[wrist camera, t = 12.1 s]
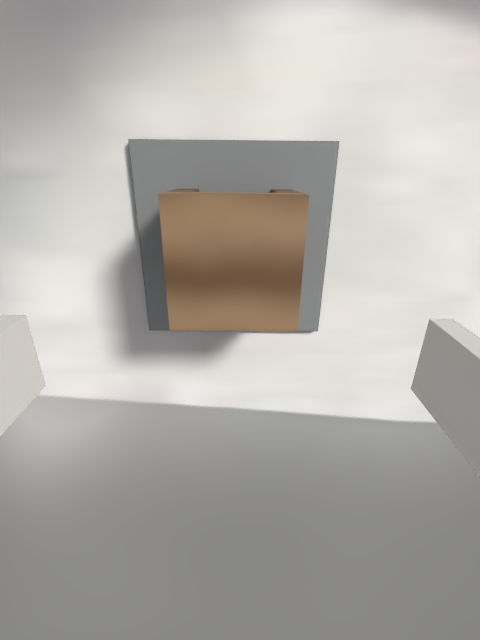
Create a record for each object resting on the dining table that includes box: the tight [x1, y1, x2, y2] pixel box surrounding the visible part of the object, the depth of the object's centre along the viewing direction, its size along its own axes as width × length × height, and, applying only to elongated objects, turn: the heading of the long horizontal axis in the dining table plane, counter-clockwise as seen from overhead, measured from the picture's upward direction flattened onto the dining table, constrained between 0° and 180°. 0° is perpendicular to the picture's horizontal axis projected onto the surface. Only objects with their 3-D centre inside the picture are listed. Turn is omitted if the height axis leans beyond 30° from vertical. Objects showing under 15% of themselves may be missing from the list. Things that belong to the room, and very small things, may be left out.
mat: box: [128, 139, 339, 331], centre depth 29 cm, size 16×16×1 cm
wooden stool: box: [158, 188, 309, 331], centre depth 25 cm, size 9×9×8 cm
